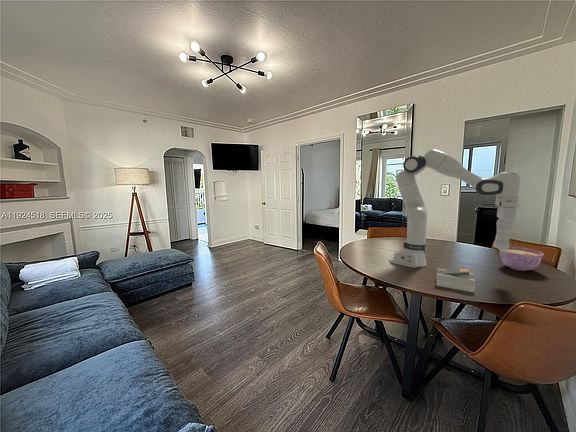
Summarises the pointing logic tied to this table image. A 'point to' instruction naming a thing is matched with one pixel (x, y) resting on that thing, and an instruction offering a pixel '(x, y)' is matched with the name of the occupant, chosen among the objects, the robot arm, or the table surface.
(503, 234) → the plastic bottle
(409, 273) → the table surface
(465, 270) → the gray and orange tool
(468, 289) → the box
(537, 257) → the bowl of food
